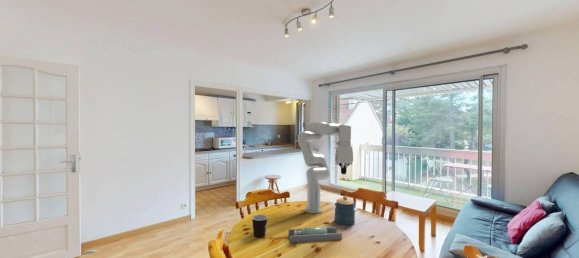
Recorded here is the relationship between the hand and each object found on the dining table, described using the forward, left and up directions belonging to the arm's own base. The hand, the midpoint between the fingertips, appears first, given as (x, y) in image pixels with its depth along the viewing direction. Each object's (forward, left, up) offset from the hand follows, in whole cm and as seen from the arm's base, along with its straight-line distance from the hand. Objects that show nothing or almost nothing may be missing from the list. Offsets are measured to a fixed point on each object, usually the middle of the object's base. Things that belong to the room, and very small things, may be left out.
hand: (343, 173), depth 146 cm
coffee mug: (+3, -50, -33) cm, 60 cm away
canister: (-6, +4, -33) cm, 34 cm away
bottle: (+12, -15, -30) cm, 35 cm away
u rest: (+12, -21, -33) cm, 41 cm away
